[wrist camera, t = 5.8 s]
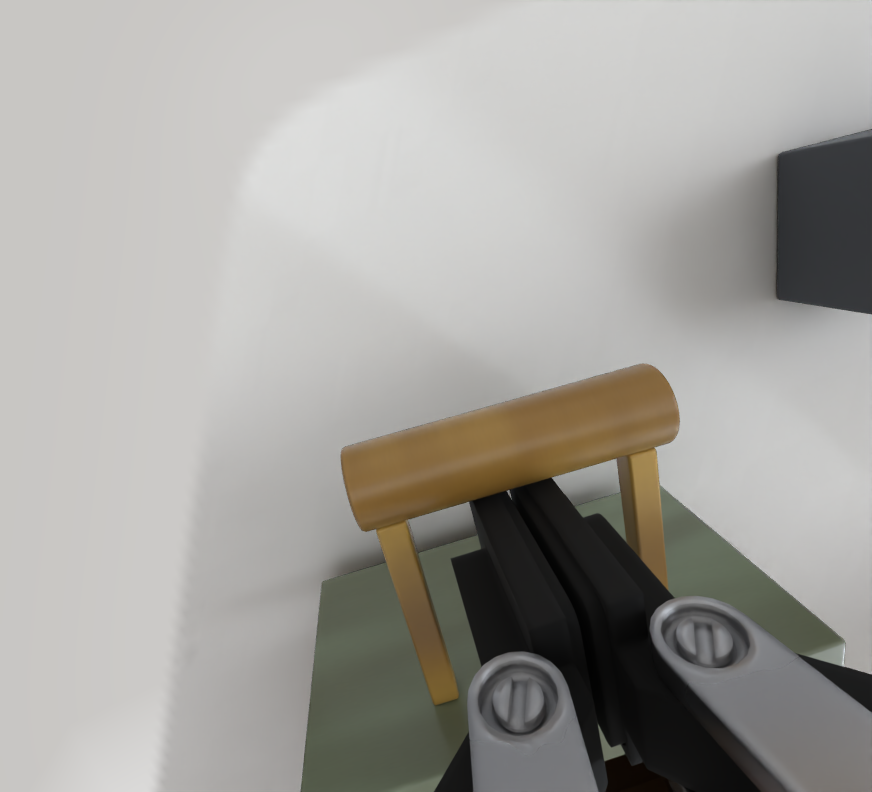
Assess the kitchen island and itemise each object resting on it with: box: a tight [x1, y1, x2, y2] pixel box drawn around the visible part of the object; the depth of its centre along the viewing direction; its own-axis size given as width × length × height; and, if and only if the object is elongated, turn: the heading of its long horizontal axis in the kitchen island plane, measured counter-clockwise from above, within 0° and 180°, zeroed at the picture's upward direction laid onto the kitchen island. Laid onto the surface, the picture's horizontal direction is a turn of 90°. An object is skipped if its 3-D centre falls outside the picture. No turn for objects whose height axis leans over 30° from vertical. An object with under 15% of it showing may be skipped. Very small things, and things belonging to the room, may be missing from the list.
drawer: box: [301, 364, 846, 792], centre depth 14 cm, size 20×11×7 cm, turn 14°
